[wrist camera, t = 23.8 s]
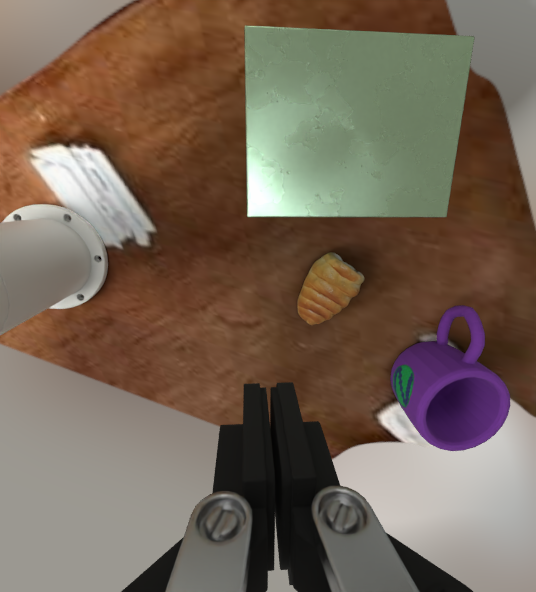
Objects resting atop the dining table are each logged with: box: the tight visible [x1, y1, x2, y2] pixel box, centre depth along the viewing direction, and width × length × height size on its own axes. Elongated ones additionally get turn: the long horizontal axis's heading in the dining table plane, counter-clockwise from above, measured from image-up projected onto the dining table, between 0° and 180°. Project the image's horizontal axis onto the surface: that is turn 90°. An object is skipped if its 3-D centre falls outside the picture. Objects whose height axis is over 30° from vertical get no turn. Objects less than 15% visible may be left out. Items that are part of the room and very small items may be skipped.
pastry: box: [297, 253, 364, 325], centre depth 42 cm, size 9×7×4 cm
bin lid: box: [244, 26, 474, 217], centre depth 25 cm, size 16×13×1 cm
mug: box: [391, 306, 510, 451], centre depth 43 cm, size 17×11×10 cm, turn 173°
